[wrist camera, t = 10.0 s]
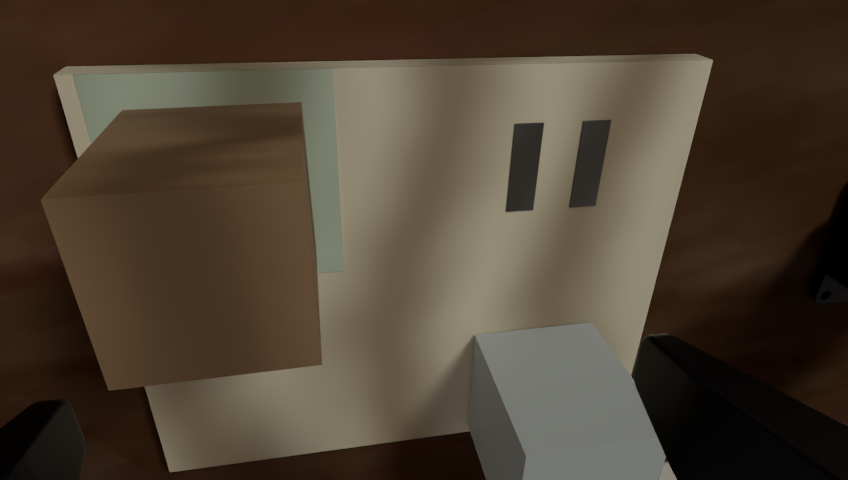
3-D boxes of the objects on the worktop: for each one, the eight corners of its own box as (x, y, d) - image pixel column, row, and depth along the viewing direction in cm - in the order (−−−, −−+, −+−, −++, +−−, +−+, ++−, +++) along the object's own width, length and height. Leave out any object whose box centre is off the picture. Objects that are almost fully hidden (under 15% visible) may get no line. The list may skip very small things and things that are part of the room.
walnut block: (301, 101, 17) (302, 182, 12) (315, 246, 20) (322, 364, 14) (122, 109, 16) (40, 199, 11) (160, 260, 19) (108, 390, 14)
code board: (695, 53, 20) (714, 60, 19) (612, 395, 28) (622, 411, 27) (66, 66, 16) (52, 75, 15) (174, 452, 24) (169, 473, 23)
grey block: (591, 322, 24) (673, 434, 18) (573, 410, 26) (641, 531, 21) (474, 334, 23) (526, 456, 18) (467, 424, 25) (510, 554, 20)
